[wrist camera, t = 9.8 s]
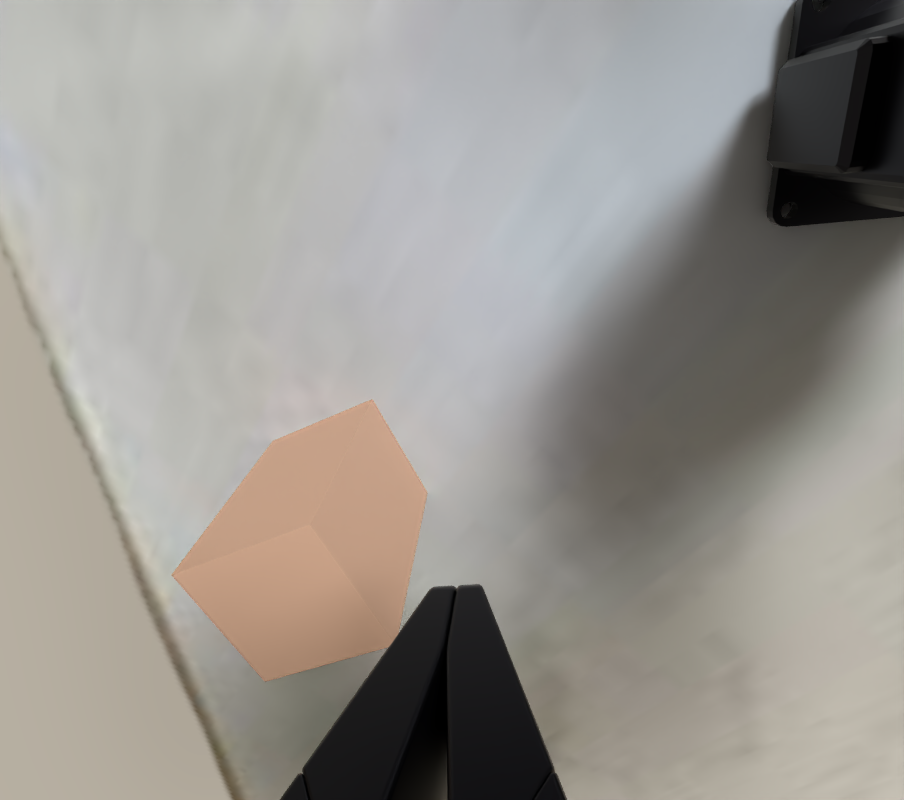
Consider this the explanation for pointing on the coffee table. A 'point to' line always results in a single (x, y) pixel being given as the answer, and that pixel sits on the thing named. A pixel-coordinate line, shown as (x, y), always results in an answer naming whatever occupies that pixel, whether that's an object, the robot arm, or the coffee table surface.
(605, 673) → the coffee table surface
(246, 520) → the terracotta block
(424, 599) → the robot arm
